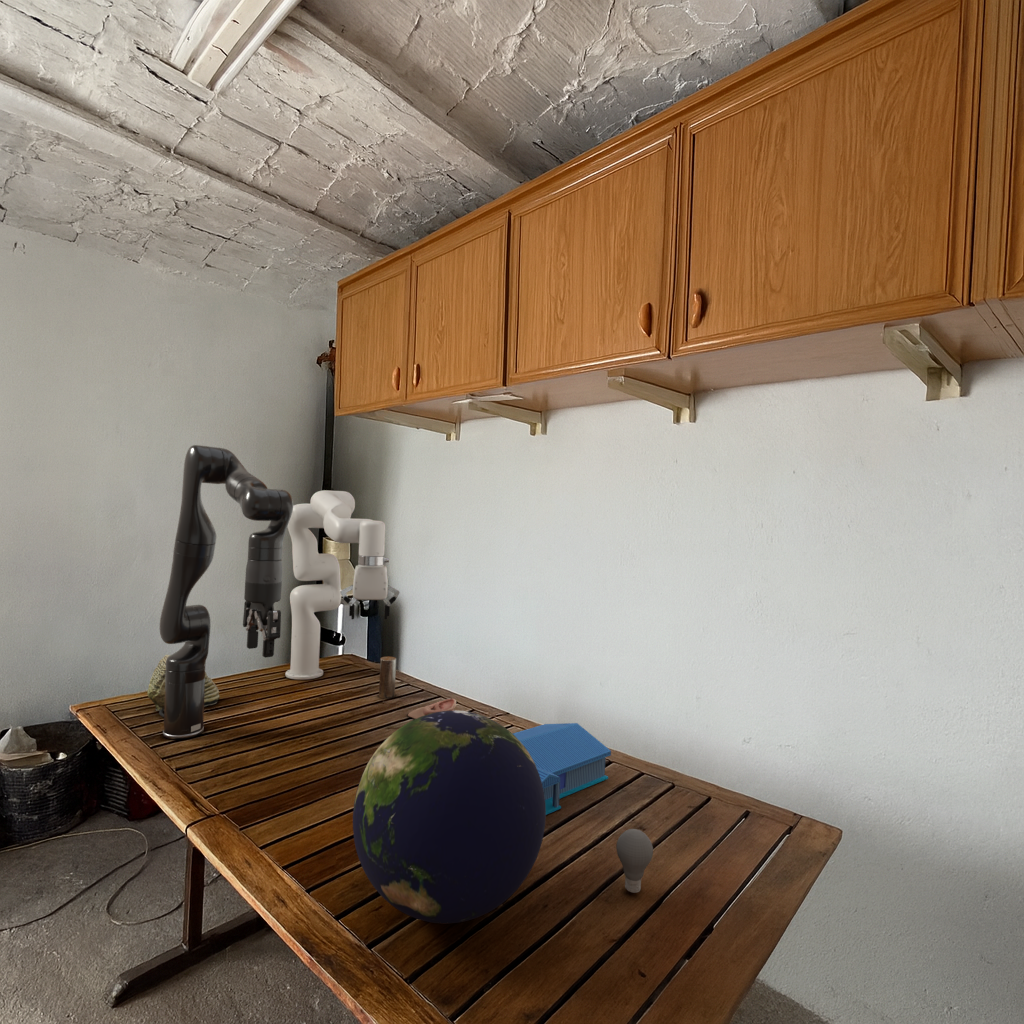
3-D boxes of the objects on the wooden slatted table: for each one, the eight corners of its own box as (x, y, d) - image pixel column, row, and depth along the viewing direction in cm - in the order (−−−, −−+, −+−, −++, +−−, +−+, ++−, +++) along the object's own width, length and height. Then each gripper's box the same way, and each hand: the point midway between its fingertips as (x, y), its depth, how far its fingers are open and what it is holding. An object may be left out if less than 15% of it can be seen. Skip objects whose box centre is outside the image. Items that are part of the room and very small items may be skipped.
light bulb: (610, 879, 108) (613, 822, 108) (644, 879, 109) (647, 822, 109) (619, 902, 102) (622, 840, 102) (655, 901, 103) (658, 840, 103)
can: (389, 699, 199) (390, 661, 199) (375, 697, 201) (377, 659, 201) (397, 695, 204) (399, 657, 204) (384, 692, 206) (385, 655, 206)
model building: (490, 838, 120) (492, 786, 120) (417, 791, 138) (419, 745, 138) (619, 783, 146) (621, 740, 146) (544, 749, 164) (545, 711, 164)
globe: (306, 934, 92) (314, 729, 91) (413, 836, 119) (420, 678, 119) (495, 1005, 80) (505, 771, 80) (565, 878, 108) (573, 704, 108)
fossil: (144, 707, 182) (145, 655, 182) (212, 696, 194) (213, 647, 194) (151, 716, 175) (153, 662, 175) (221, 703, 188) (223, 653, 188)
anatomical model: (404, 704, 182) (418, 693, 193) (403, 718, 182) (417, 706, 193) (448, 710, 180) (460, 697, 191) (448, 723, 180) (459, 711, 191)
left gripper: (294, 583, 137) (290, 657, 137) (267, 574, 147) (263, 643, 147) (260, 585, 132) (255, 662, 132) (234, 575, 142) (230, 647, 142)
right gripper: (400, 561, 195) (398, 616, 195) (342, 559, 192) (340, 616, 192) (400, 563, 188) (398, 621, 188) (340, 562, 184) (338, 620, 184)
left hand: (259, 652), depth 140 cm, fingers open, 8 cm apart
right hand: (369, 618), depth 190 cm, fingers open, 9 cm apart
